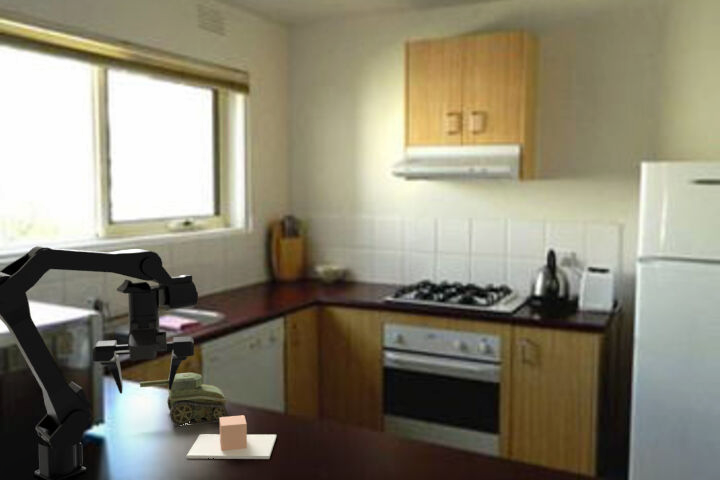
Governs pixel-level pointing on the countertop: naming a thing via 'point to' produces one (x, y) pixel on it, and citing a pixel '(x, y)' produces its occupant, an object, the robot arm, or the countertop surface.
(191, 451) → the board
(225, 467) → the countertop surface
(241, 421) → the block
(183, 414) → the toy
